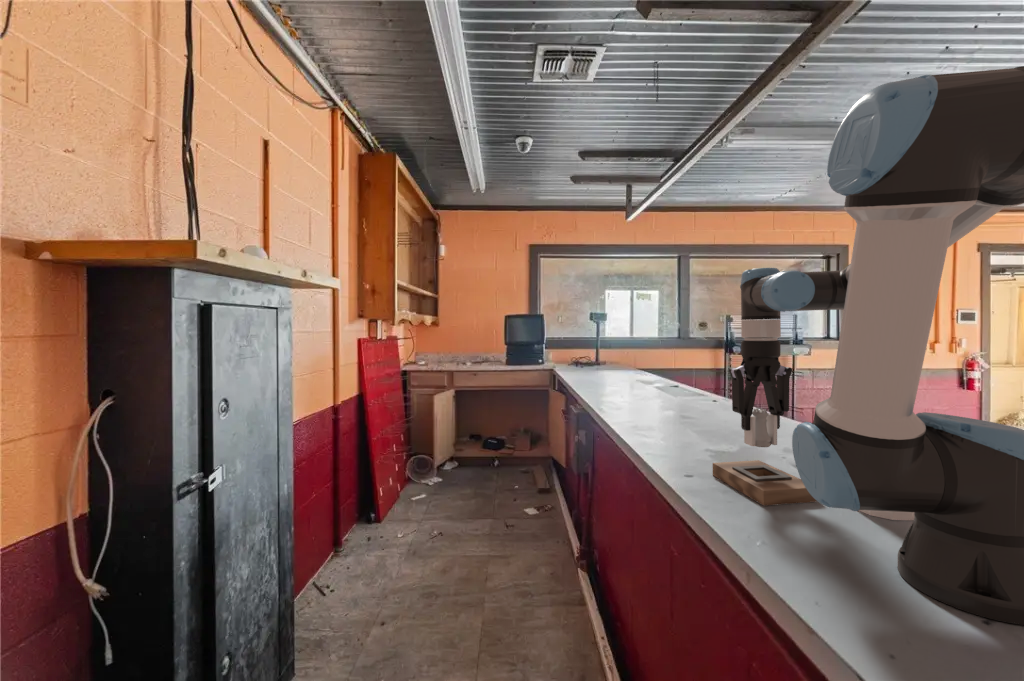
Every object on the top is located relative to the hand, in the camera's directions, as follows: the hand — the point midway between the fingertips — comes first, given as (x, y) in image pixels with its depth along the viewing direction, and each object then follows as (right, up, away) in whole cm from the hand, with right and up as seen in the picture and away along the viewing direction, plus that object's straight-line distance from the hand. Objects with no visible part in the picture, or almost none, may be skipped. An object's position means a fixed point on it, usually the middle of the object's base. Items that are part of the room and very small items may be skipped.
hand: (760, 443), depth 96 cm
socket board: (0, -10, 0) cm, 10 cm away
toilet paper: (+17, -10, -12) cm, 23 cm away
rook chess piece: (0, 0, 0) cm, 1 cm away
